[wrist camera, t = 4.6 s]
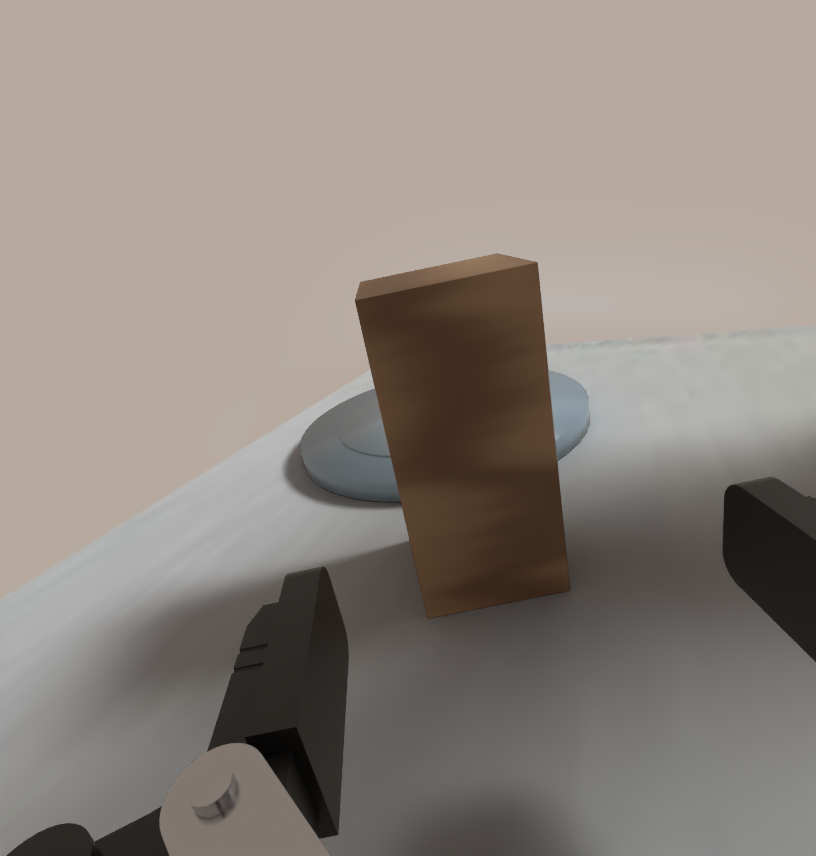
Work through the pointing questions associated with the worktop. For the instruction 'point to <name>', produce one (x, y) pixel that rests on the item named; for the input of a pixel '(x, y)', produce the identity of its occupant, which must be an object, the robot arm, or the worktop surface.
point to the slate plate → (368, 449)
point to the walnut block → (469, 428)
